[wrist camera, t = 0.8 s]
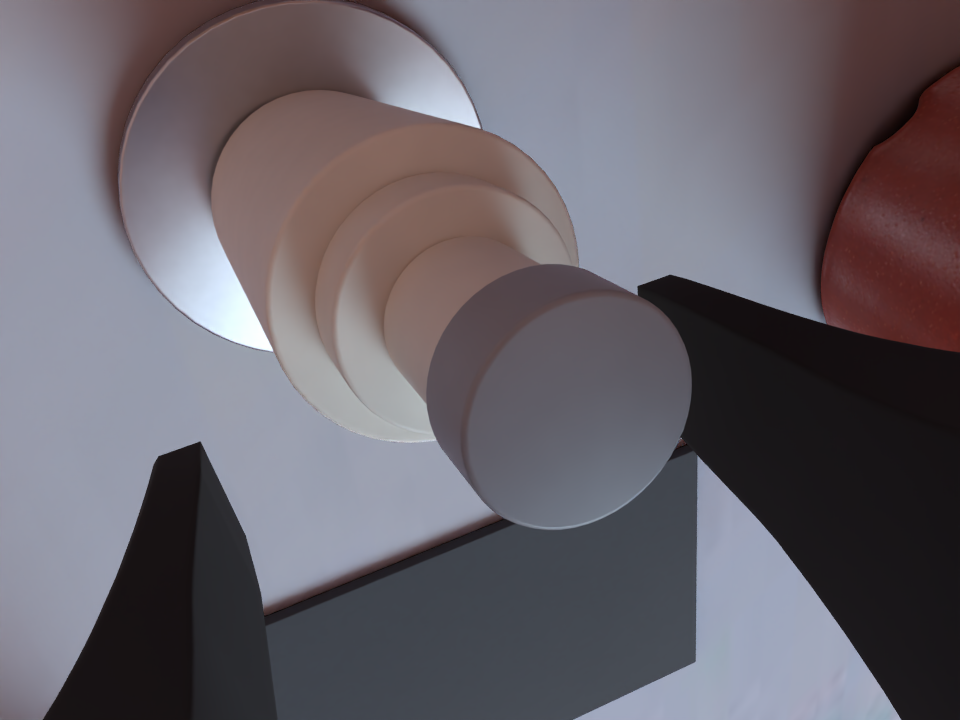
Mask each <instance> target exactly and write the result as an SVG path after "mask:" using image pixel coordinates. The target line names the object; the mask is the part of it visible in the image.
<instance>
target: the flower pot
mask: <svg viewBox="0 0 960 720" xmlns="http://www.w3.org/2000/svg"><path fill="white" fill-rule="evenodd" d="M821 300H822V307H823V312H824V316H825V319H826V322H827V324H828V325H831V326H835V327H839V328H842V329H846V330H850V331H853V332H857V333H861V334H865V335H870V336H874V337H878V338H883V339H888V340H893V341H898V342H903V343H908V344H913V345H918V346H923V347H929V348H935V349H941V350H947V351H954V352H960V66H959V67H957V68H955V69H953V70H952V71H950V72H949V73H947V74H946V75H945V76H943V77H942V78H940V79H939V80H938V81H937V82H935V83H934V84H933V85H931V86H930V87H929V88H927V89H926V90H925V91H924V92H923V93H922V95H921V96H920V98H919V105H918V108H917V110H916V112H915V114H914V115H913V117H912V118H911V119H910V120H909V121H908V122H907V123H906V124H905V125H904V126H903V127H902V128H901V129H900V130H899V131H897V132H896V133H895V134H894V135H893V136H891V137H890V138H888V139H887V140H885V141H884V142H882V143H880V144H878V145H876V146H874V147H873V148H872V150H871V151H870V152H869V153H868V155H867V156H866V158H865V160H864V161H863V163H862V164H861V166H860V167H859V169H858V171H857V172H856V174H855V176H854V177H853V179H852V181H851V183H850V185H849V187H848V189H847V191H846V193H845V195H844V197H843V199H842V201H841V203H840V206H839V208H838V211H837V213H836V216H835V219H834V222H833V224H832V227H831V230H830V234H829V237H828V241H827V245H826V249H825V253H824V258H823V265H822V273H821Z"/></svg>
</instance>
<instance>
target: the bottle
mask: <svg viewBox="0 0 960 720" xmlns="http://www.w3.org/2000/svg"><path fill="white" fill-rule="evenodd" d="M211 209H212V215H213V222H214V226H215V229H216V233H217V236H218V239H219V241H220V243H221V245H222V248H223V250H224V252H225V254H226V256H227V258H228V260H229V262H230V264H231V266H232V268H233V270H234V272H235V274H236V276H237V278H238V280H239V282H240V284H241V286H242V288H243V290H244V292H245V294H246V296H247V298H248V301H249V303H250V305H251V307H252V309H253V311H254V313H255V315H256V317H257V319H258V321H259V323H260V325H261V327H262V329H263V331H264V333H265V335H266V337H267V339H268V341H269V343H270V345H271V347H272V349H273V351H274V353H275V355H276V357H277V359H278V361H279V363H280V365H281V367H282V369H283V371H284V372H285V374H286V375H287V377H288V379H289V380H290V382H291V383H292V385H293V386H294V388H295V389H296V390H297V391H298V392H299V393H300V395H301V396H302V397H303V398H304V399H305V400H306V401H307V402H308V403H309V404H310V405H311V406H312V407H313V408H315V409H316V410H317V411H318V412H319V413H320V414H322V415H323V416H325V417H326V418H328V419H329V420H331V421H332V422H334V423H335V424H337V425H339V426H341V427H343V428H345V429H348V430H350V431H352V432H354V433H357V434H360V435H363V436H366V437H370V438H373V439H378V440H384V441H391V442H407V443H416V442H427V441H435V440H437V441H438V443H439V445H440V447H441V448H442V450H443V451H444V452H445V453H446V455H447V456H448V457H449V459H450V460H451V461H452V462H453V464H454V465H455V466H456V468H457V469H458V470H459V471H460V473H461V474H462V475H463V477H464V478H465V479H466V480H467V482H468V483H469V484H470V485H471V487H472V488H473V489H474V491H475V492H476V493H477V494H478V496H479V497H480V498H481V500H482V501H483V502H484V503H485V504H486V505H487V506H488V507H489V508H490V509H492V510H493V511H494V512H495V513H497V514H499V515H500V516H502V517H503V518H505V519H507V520H509V521H511V522H514V523H516V524H519V525H522V526H526V527H530V528H534V529H542V530H562V529H569V528H575V527H579V526H583V525H586V524H589V523H592V522H595V521H597V520H600V519H602V518H604V517H606V516H608V515H610V514H612V513H614V512H615V511H617V510H618V509H620V508H621V507H623V506H624V505H626V504H628V503H629V502H630V501H631V500H633V499H634V498H635V497H636V496H637V495H639V494H640V493H641V492H642V491H643V490H644V489H645V488H646V487H647V486H648V485H649V484H650V483H651V482H652V481H653V480H654V478H655V477H656V476H657V475H658V474H659V472H660V471H661V470H662V468H663V467H664V466H665V464H666V463H667V461H668V460H669V458H670V457H671V455H672V453H673V451H674V449H675V447H676V446H677V444H678V441H679V439H680V437H681V434H682V432H683V430H684V426H685V423H686V420H687V417H688V413H689V407H690V402H691V392H692V376H691V367H690V362H689V357H688V354H687V351H686V348H685V345H684V343H683V341H682V339H681V337H680V335H679V333H678V331H677V329H676V328H675V326H674V325H673V323H672V322H671V321H670V319H669V318H668V317H667V316H666V315H665V314H664V313H663V312H662V311H661V310H660V309H659V308H657V307H656V306H655V305H653V304H652V303H650V302H649V301H647V300H645V299H643V298H641V297H639V296H637V295H635V294H633V293H631V292H629V291H627V290H625V289H623V288H621V287H619V286H617V285H616V284H614V283H612V282H610V281H608V280H606V279H604V278H602V277H600V276H598V275H596V274H594V273H592V272H590V271H588V270H585V269H582V268H579V259H578V249H577V242H576V237H575V233H574V229H573V225H572V222H571V219H570V216H569V214H568V211H567V208H566V206H565V204H564V202H563V200H562V198H561V196H560V194H559V192H558V190H557V189H556V187H555V186H554V184H553V183H552V181H551V180H550V179H549V177H548V176H547V175H546V173H545V172H544V171H543V170H542V169H541V168H540V167H539V166H538V165H537V164H536V163H535V161H534V160H533V159H532V158H531V157H529V156H528V155H527V154H525V153H524V152H523V151H522V150H520V149H519V148H518V147H516V146H515V145H513V144H512V143H510V142H508V141H506V140H504V139H503V138H501V137H499V136H497V135H495V134H492V133H490V132H487V131H484V130H482V129H479V128H476V127H472V126H468V125H465V124H461V123H457V122H453V121H450V120H446V119H442V118H438V117H434V116H431V115H427V114H423V113H419V112H416V111H412V110H408V109H404V108H400V107H397V106H393V105H389V104H385V103H382V102H378V101H374V100H370V99H366V98H363V97H359V96H355V95H351V94H347V93H343V92H338V91H330V90H307V91H301V92H296V93H291V94H288V95H286V96H283V97H280V98H277V99H275V100H273V101H271V102H269V103H267V104H265V105H263V106H262V107H261V108H259V109H258V110H256V111H255V112H254V113H252V114H251V115H250V116H249V117H248V118H247V119H245V120H244V121H243V122H242V123H241V124H240V125H239V127H238V128H237V129H236V130H235V132H234V133H233V134H232V135H231V137H230V138H229V140H228V142H227V143H226V145H225V147H224V148H223V150H222V153H221V155H220V157H219V160H218V162H217V165H216V169H215V173H214V176H213V182H212V191H211Z"/></svg>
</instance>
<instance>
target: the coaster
mask: <svg viewBox="0 0 960 720" xmlns="http://www.w3.org/2000/svg"><path fill="white" fill-rule="evenodd" d="M307 90H330V91H338V92H343V93H347V94H351V95H355V96H359V97H363V98H366V99H370V100H374V101H378V102H382V103H385V104H389V105H393V106H397V107H400V108H404V109H408V110H412V111H416V112H419V113H423V114H427V115H431V116H434V117H438V118H442V119H446V120H450V121H453V122H457V123H461V124H465V125H468V126H472V127H476V128H479V129H482V125H481V122H480V119H479V116H478V114H477V111H476V108H475V105H474V103H473V101H472V99H471V97H470V95H469V93H468V91H467V89H466V88H465V86H464V84H463V82H462V81H461V79H460V78H459V77H458V75H457V74H456V72H455V71H454V70H453V68H452V67H451V65H450V64H449V63H448V62H447V61H446V60H445V59H444V58H443V57H442V56H441V54H440V53H439V52H438V51H437V50H436V49H435V48H434V47H433V46H432V45H430V44H429V43H428V42H427V41H425V40H424V39H423V38H422V37H420V36H419V35H418V34H417V33H415V32H414V31H413V30H411V29H410V28H408V27H407V26H405V25H403V24H402V23H400V22H398V21H396V20H395V19H393V18H391V17H390V16H388V15H386V14H384V13H381V12H379V11H377V10H374V9H372V8H369V7H367V6H364V5H361V4H357V3H354V2H350V1H346V0H261V1H257V2H254V3H250V4H247V5H244V6H241V7H238V8H235V9H232V10H230V11H228V12H226V13H224V14H222V15H220V16H218V17H216V18H214V19H212V20H210V21H208V22H206V23H205V24H203V25H202V26H200V27H199V28H198V29H196V30H195V31H193V32H192V33H190V34H189V35H187V36H186V37H185V38H184V39H183V40H181V41H180V42H179V43H178V44H177V45H176V46H175V47H174V48H173V49H172V50H171V51H170V52H168V53H167V54H166V55H165V56H164V58H163V59H162V60H161V61H160V63H159V64H158V65H157V66H156V68H155V69H154V70H153V71H152V73H151V74H150V75H149V76H148V78H147V80H146V82H145V83H144V85H143V87H142V88H141V90H140V92H139V94H138V95H137V97H136V99H135V101H134V103H133V106H132V108H131V111H130V113H129V116H128V118H127V121H126V124H125V128H124V132H123V136H122V141H121V145H120V151H119V163H118V187H119V202H120V209H121V213H122V218H123V223H124V227H125V231H126V233H127V236H128V239H129V241H130V244H131V247H132V249H133V252H134V254H135V256H136V258H137V259H138V261H139V263H140V265H141V267H142V268H143V270H144V272H145V274H146V275H147V276H148V278H149V279H150V280H151V282H152V283H153V284H154V286H155V287H156V288H157V290H158V291H159V292H160V293H161V294H162V295H163V296H164V297H165V298H166V299H167V300H168V301H169V302H170V303H171V304H172V305H173V306H174V307H175V308H176V309H177V310H178V311H179V312H181V313H182V314H183V315H185V316H186V317H187V318H188V319H190V320H191V321H192V322H194V323H195V324H197V325H199V326H200V327H202V328H204V329H206V330H207V331H209V332H211V333H212V334H214V335H217V336H219V337H221V338H224V339H226V340H228V341H230V342H233V343H236V344H239V345H242V346H246V347H249V348H252V349H256V350H262V351H268V352H274V351H273V349H272V347H271V345H270V343H269V341H268V339H267V337H266V335H265V333H264V331H263V329H262V327H261V325H260V323H259V321H258V319H257V317H256V315H255V313H254V311H253V309H252V307H251V305H250V303H249V301H248V298H247V296H246V294H245V292H244V290H243V288H242V286H241V284H240V282H239V280H238V278H237V276H236V274H235V272H234V270H233V268H232V266H231V264H230V262H229V260H228V258H227V256H226V254H225V252H224V250H223V248H222V245H221V243H220V241H219V239H218V236H217V233H216V229H215V226H214V222H213V215H212V209H211V191H212V182H213V176H214V173H215V169H216V165H217V162H218V160H219V157H220V155H221V153H222V150H223V148H224V147H225V145H226V143H227V142H228V140H229V138H230V137H231V135H232V134H233V133H234V132H235V130H236V129H237V128H238V127H239V125H240V124H241V123H242V122H243V121H244V120H245V119H247V118H248V117H249V116H250V115H251V114H252V113H254V112H255V111H256V110H258V109H259V108H261V107H262V106H263V105H265V104H267V103H269V102H271V101H273V100H275V99H277V98H280V97H283V96H286V95H288V94H291V93H296V92H301V91H307ZM482 130H483V129H482Z"/></svg>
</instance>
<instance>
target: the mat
mask: <svg viewBox="0 0 960 720" xmlns="http://www.w3.org/2000/svg"><path fill="white" fill-rule="evenodd" d="M696 551H697V454H696V453H695V452H694V451H693V450H692V449H691V448H690V447H689V446H688V445H686V446H683V447H681V448H679V449H676V450H674V451H673V453H672V455H671V457H670V458H669V460H668V461H667V463H666V464H665V466H664V467H663V468H662V470H661V471H660V472H659V474H658V475H657V476H656V477H655V478H654V480H653V481H652V482H651V483H650V484H649V485H648V486H647V487H646V488H645V489H644V490H643V491H642V492H641V493H640V494H639V495H637V496H636V497H635V498H634V499H633V500H631V501H630V502H629V503H628V504H626V505H624V506H623V507H621V508H620V509H618V510H617V511H615V512H614V513H612V514H610V515H608V516H606V517H604V518H602V519H600V520H597V521H595V522H592V523H589V524H586V525H583V526H579V527H575V528H569V529H562V530H542V529H534V528H530V527H526V526H522V525H519V524H516V523H514V522H511V521H509V520H507V519H504V520H502V521H499V522H497V523H494V524H492V525H490V526H487V527H485V528H482V529H480V530H477V531H475V532H472V533H470V534H467V535H465V536H463V537H460V538H458V539H455V540H453V541H450V542H448V543H445V544H443V545H440V546H438V547H436V548H433V549H431V550H428V551H426V552H423V553H421V554H418V555H416V556H413V557H411V558H409V559H406V560H404V561H401V562H399V563H396V564H394V565H391V566H389V567H386V568H384V569H382V570H379V571H377V572H374V573H372V574H369V575H367V576H364V577H362V578H359V579H357V580H355V581H352V582H350V583H347V584H345V585H342V586H340V587H337V588H335V589H332V590H330V591H328V592H325V593H323V594H320V595H318V596H315V597H313V598H310V599H308V600H305V601H303V602H301V603H298V604H296V605H293V606H291V607H288V608H286V609H283V610H281V611H278V612H276V613H274V614H271V615H269V616H266V617H264V619H265V626H266V634H267V641H268V649H269V657H270V664H271V672H272V680H273V687H274V695H275V702H276V710H277V718H278V720H573V719H575V718H578V717H580V716H582V715H584V714H586V713H588V712H590V711H592V710H595V709H597V708H599V707H601V706H603V705H605V704H607V703H609V702H611V701H614V700H616V699H618V698H620V697H622V696H624V695H626V694H628V693H631V692H633V691H635V690H637V689H639V688H641V687H643V686H645V685H647V684H650V683H652V682H654V681H656V680H658V679H660V678H662V677H664V676H667V675H669V674H671V673H673V672H675V671H677V670H679V669H681V668H683V667H686V666H688V665H690V664H692V663H694V662H695V661H696Z"/></svg>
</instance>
